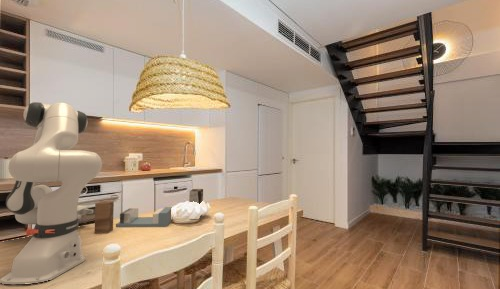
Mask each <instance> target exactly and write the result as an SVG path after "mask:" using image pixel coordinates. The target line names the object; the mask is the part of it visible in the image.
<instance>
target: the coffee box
mask: <svg viewBox="0 0 500 289" xmlns="http://www.w3.org/2000/svg"><path fill="white" fill-rule="evenodd" d="M188 196H189V197H188V199H189V200H188V203H189V202H193V201H194V202H197V203H199V204H200V203H201V202H202V201H203V202H204V189H203V188H193V189H191V190H189V195H188Z"/></svg>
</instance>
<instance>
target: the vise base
mask: <svg viewBox="0 0 500 289" xmlns="http://www.w3.org/2000/svg"><path fill="white" fill-rule="evenodd" d="M172 207H173V206H169V207H168V206H164V207H163V208H162V207H161V208H160V207H159V208H158V209H157V210H156V211H155V212H154V213H152V216H138V218H137V219H135V220H134V221H133V222H131V223H120V221H118V222H117V223H116V224H115V228H167V227H168V225H169V224H170V223H171V222H172V221H171V208H172Z"/></svg>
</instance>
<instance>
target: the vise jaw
mask: <svg viewBox="0 0 500 289" xmlns="http://www.w3.org/2000/svg"><path fill="white" fill-rule="evenodd" d="M138 217H139V208H132V207H131V208H130V207H129V208H128V209H126V210H124V211H123V212H120V214H119V222H120V223H131V222H133V221H134V220H135V219H137V218H138Z"/></svg>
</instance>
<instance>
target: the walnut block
mask: <svg viewBox="0 0 500 289" xmlns="http://www.w3.org/2000/svg"><path fill="white" fill-rule="evenodd" d="M114 202H115V201H114V200H100V201H98V202H95V203H94V204H95V207H94V234H109V233H110V232H112V231H113V230H114V206H115V205H114V204H115V203H114Z"/></svg>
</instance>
